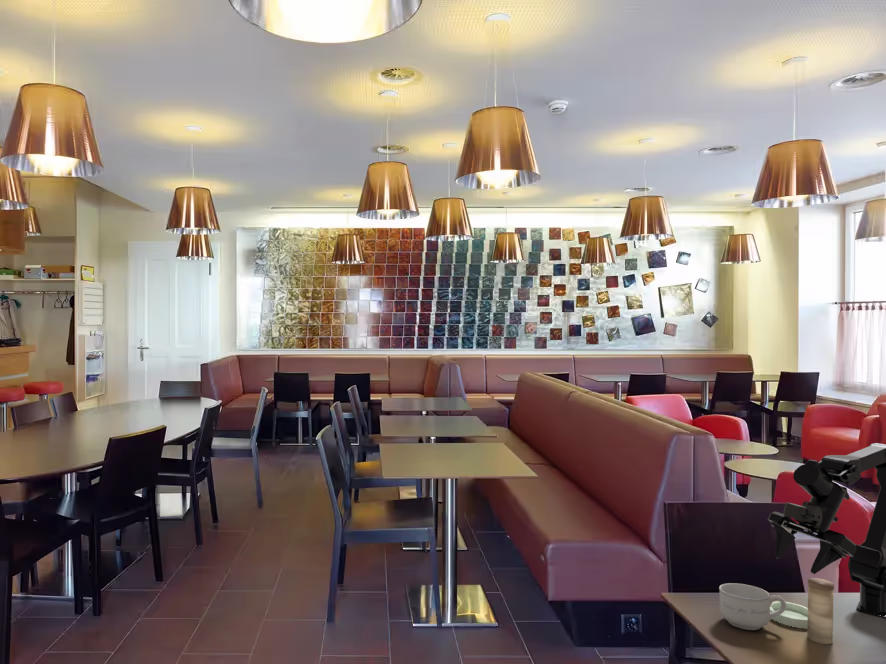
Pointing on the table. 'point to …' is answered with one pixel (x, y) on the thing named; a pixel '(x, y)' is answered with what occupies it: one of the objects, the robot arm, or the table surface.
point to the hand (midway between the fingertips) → (794, 565)
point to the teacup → (747, 605)
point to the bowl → (791, 614)
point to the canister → (820, 611)
